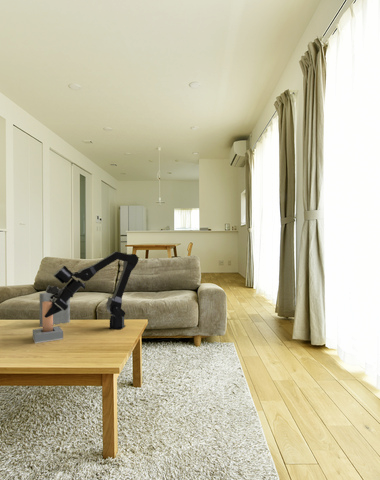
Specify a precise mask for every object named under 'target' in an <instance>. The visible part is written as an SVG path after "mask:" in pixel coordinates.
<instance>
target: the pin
mask: <svg viewBox="0 0 380 480" xmlns="http://www.w3.org/2000/svg"><path fill="white" fill-rule="evenodd" d="M52 302H53V301H45V302H42V319H43V327H42V328H43V332H50V331H53V327H54V325H53V315H51V316H49V317H47V318H46V317H44V316H45V314H46V313H47V312H48V310H49V309H50V307H51V306H52Z"/></svg>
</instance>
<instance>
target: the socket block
mask: <svg viewBox="0 0 380 480" xmlns="http://www.w3.org/2000/svg"><path fill="white" fill-rule="evenodd" d="M32 339H33V341H34V344H38V343H45V342H47V343H48V342H52V341H58V340H59V341H60V340H63V339H64V330H63V329H62V328H61V326H58V325H57V326H53V331H50V332H43V327H40V328H34V329H32Z"/></svg>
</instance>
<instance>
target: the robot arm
mask: <svg viewBox="0 0 380 480" xmlns="http://www.w3.org/2000/svg"><path fill="white" fill-rule="evenodd" d="M117 260H118V261H121V262H123V263H122V271H121V274H120V277H119V278H118V282H117V284H116V288H115V289H114V293H113V295H112V296H111V297H109V296H108V297H107V301H106V303H105V305H106V306H105V307H106V308H105V309H106V310H107V312H109V314H110V317H109V330H123V328H125V327H126V325H125V317H126V316H125V315H126V312H125V311H124V310H123V308H122V306H123V305H122V304H123V295H124V293H125V290H126V287H127V284H128V281H129V279H130V277H131V274H132V271H134V269H135V268H136V267H137V264H138V263H139V256H138V255H137V254H135V253H123V252H119V251H113V252H112V253H110V254H109V255H107V256H106V257H104V258H102V259H101V260H99V261H97V262H96V263H94V264H91V265H89V266H86V267H84V268H81V269H79V270H78V271H75V272H72V271H71V270H70V269H68V267H67V266H66V265H63V266H62V267H61V268H59V269H58V270H56V271H55V273H54V274H53V277H54V278H55V279H56V280H57V281H59V282H60V283H61V284H63V285H64V284H65V286H64V287H61V288H59V287H58V286H56V285H53V286H52V285H49V284H48V285H47V287H46V290H45V292H44V293H51V294H52V295H51V296H50V298H51V299H49V301H53V302H52V306H51V307H50V309H49V310H48V312H47V313H46V314H45V316H44V317H46V318H47V317H49V316H51V315H53V314H55V313H57V312H60V311H62V309H63V310H66V309H67V308H68V304H67V301H68V300H69V299H70V300H71V299H72V298H73V297H74V295H75V294H76V293H77V291H79V289H81V288H82V289H84V290H85V289H86V282H88V281H89V280H91V279H92V278H93V277H94V276H96V274H97V273H99V271H101V270H102V269H104V268H105V267H107V266H109V265H111V264H112V263H114V262H115V261H117ZM75 278H76V279H75ZM81 281H83V282H81Z"/></svg>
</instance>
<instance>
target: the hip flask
mask: <svg viewBox="0 0 380 480" xmlns="http://www.w3.org/2000/svg"><path fill="white" fill-rule="evenodd" d="M51 295H52V294H51V293H47V292H40V293H39V327H40V328H43V319H42V302H45V301H49V299H51V298H50V296H51ZM67 304H68V308H67V309H66V310H63V309H62V311H60V312H57V313H55V314H53V326H54V324H55V325H61V324H60V323H62V324H67V323H71V298H70V299H69V300H68V301H67Z"/></svg>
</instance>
